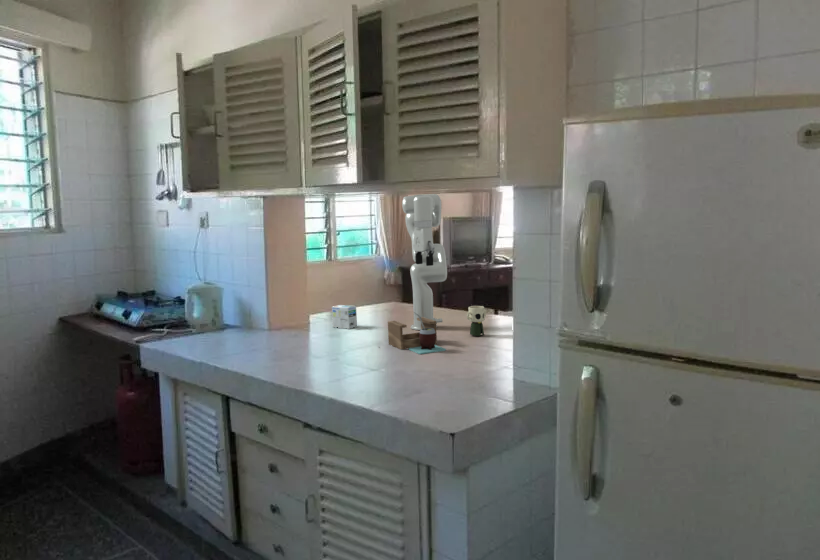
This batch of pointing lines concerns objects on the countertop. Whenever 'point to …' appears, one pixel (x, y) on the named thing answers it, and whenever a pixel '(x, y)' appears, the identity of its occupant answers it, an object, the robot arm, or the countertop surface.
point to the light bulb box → (344, 316)
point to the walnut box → (410, 339)
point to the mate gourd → (427, 337)
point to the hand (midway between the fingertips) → (424, 264)
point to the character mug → (476, 319)
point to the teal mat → (426, 350)
